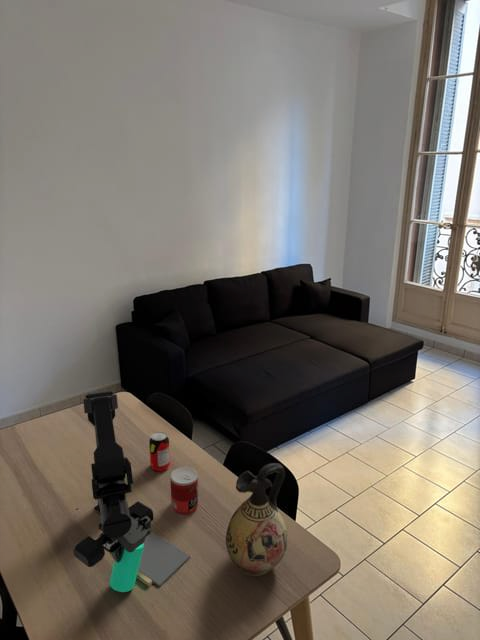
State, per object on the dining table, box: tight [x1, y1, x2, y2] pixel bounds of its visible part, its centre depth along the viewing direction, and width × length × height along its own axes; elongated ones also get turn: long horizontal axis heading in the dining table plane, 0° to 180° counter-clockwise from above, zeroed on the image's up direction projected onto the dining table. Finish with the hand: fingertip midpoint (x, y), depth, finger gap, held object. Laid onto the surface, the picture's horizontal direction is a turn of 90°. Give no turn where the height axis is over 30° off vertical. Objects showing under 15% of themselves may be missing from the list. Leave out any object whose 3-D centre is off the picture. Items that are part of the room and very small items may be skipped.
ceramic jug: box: [225, 462, 288, 577], centre depth 118 cm, size 17×15×30 cm
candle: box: [108, 543, 144, 593], centre depth 115 cm, size 6×6×12 cm
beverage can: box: [149, 431, 171, 472], centre depth 157 cm, size 6×6×12 cm
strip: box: [136, 571, 153, 588], centre depth 119 cm, size 10×1×1 cm, turn 54°
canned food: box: [169, 466, 199, 515], centre depth 140 cm, size 8×8×11 cm
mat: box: [138, 531, 191, 588], centre depth 124 cm, size 14×11×1 cm
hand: (117, 561), depth 112 cm, fingers closed
